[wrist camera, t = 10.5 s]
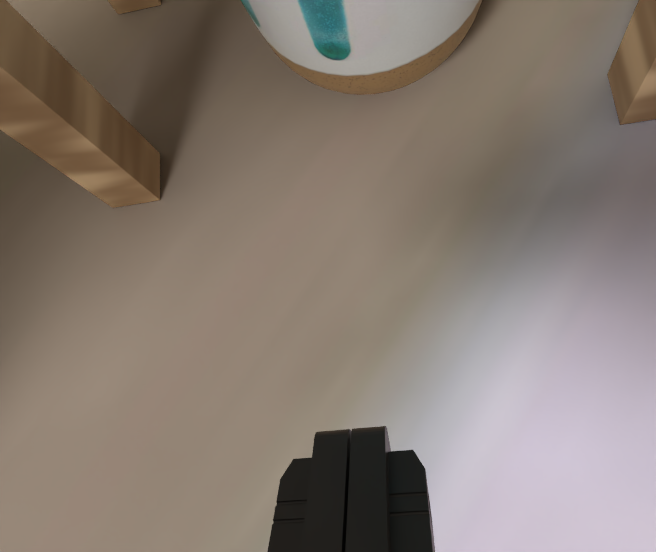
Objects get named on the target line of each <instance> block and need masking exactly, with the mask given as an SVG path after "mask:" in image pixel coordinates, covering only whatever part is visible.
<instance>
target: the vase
mask: <svg viewBox="0 0 656 552" xmlns="http://www.w3.org/2000/svg"><path fill="white" fill-rule="evenodd" d="M241 1H242V3H243V5H244V7H245V8H246V10H247V12H248V13H249V15H250V17H251V18H252V20H253V22H254V23H255V25H256V26H257V28H258V30H259V31H260V33H261V34H262V35H263V37H264V38H265V40H266V41H267V42H268V44H269V45H270V46H271V48H272V49H273V51H274V52H275V53H276V54H277V56H278V57H279V58H280V59H281V60H282V61H283V62H284V63H286V64H287V65H288V66H289V67H290V68H291V69H292V70H293V71H294V72H296V73H297V74H299V75H301V76H302V77H304V78H305V79H307V80H308V81H310V82H312V83H314V84H316V85H319V86H321V87H323V88H326V89H329V90H333V91H337V92H342V93H347V94H357V95H364V94H377V93H383V92H388V91H392V90H395V89H398V88H401V87H404V86H407V85H409V84H411V83H413V82H415V81H417V80H419V79H421V78H422V77H424V76H425V75H427V74H428V73H430V72H431V71H433V70H434V69H435V68H437V67H438V66H439V65H440V64H441V63H442V62H443V61H445V60H446V59H447V58H448V57H449V56H450V55H451V54H452V52H453V51H454V50H455V49H456V48H457V46H458V45H459V44H460V43H461V41H462V40H463V39H464V37H465V35H466V34H467V32H468V30H469V29H470V27H471V25H472V24H473V22H474V19H475V17H476V15H477V12H478V10H479V7H480V5H481V2H482V0H241Z"/></svg>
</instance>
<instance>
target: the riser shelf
mask: <svg viewBox="0 0 656 552" xmlns="http://www.w3.org/2000/svg"><path fill="white" fill-rule="evenodd" d="M108 2H109V3H110V4H111V5H112V7H113V8H114V9H115V11H116V12H117V13H118V14H122V13H127V12H131V11H136V10H140V9H145V8H149V7H154V6H158V5H161V0H108ZM607 75H608V79H609V83H610V87H611V91H612V95H613V99H614V103H615V106H616V110H617V114H618V118H619V122H620V125H623V124H629V123H635V122H641V121H647V120H653V119H656V0H639V1H638V4H637V6H636V9H635V11H634V13H633V16H632V18H631V20H630V23H629V25H628V27H627V30H626V32H625V34H624V37H623V39H622V41H621V44H620V46H619V49H618V51H617V53H616V56H615V58H614V60H613V63H612V65H611V67H610V70H609V72H608V74H607ZM0 130H2V131H3V132H5V133H6V134H7V135H9V136H10V137H12V138H13V139H15V140H16V141H17V142H19V143H20V144H22V145H23V146H25V147H26V148H27V149H29V150H30V151H32V152H33V153H35V154H36V155H38V156H39V157H40V158H42V159H43V160H45V161H46V162H48V163H49V164H50V165H52V166H53V167H55V168H56V169H58V170H59V171H61V172H62V173H63V174H65V175H66V176H68V177H69V178H71V179H72V180H73V181H75V182H76V183H78V184H79V185H81V186H82V187H83V188H85V189H86V190H88V191H89V192H91V193H92V194H94V195H95V196H96V197H98V198H99V199H101V200H102V201H104V202H105V203H106V204H108V205H109V206H111V207H112V208H115V207H121V206H127V205H133V204H139V203H145V202H152V201H158V200H160V153H159V152H158V151H157V150H156V149H155V148H154V147H153V146H152V145H151V144H150V143H149V142H148V141H147V140H146V139H145V138H144V137H143V136H142V135H141V134H140V133H139V132H138V131H137V130H136V129H135V128H134V127H133V126H132V125H131V124H130V123H129V122H128V121H127V120H126V119H125V118H124V117H123V116H122V115H121V114H120V113H119V112H118V111H117V110H116V109H115V108H114V107H113V106H112V105H111V104H110V103H109V102H108V101H107V100H106V99H105V98H104V97H103V96H102V95H101V94H100V93H99V92H98V91H97V90H96V89H95V88H94V87H93V86H92V85H91V84H90V83H89V82H88V81H87V80H86V79H85V78H84V77H83V76H82V75H81V74H80V73H79V72H78V71H77V70H76V69H75V68H74V67H72V66H71V65H70V64H69V63H68V62H67V61H66V60H65V59H64V58H63V57H62V56H61V55H60V54H59V53H58V52H57V51H56V50H55V49H54V48H53V47H52V46H51V45H50V44H49V43H48V42H47V41H46V40H45V39H44V38H43V37H42V36H41V35H40V34H39V33H38V32H37V31H36V30H35V29H34V28H33V27H32V26H31V25H30V24H29V23H28V22H27V21H26V20H25V19H24V18H23V17H22V16H21V15H20V14H19V13H18V12H17V11H16V10H15V9H14V8H13V7H12V6H11V5H10V4H9V3H8V2H7V1H6V0H0Z"/></svg>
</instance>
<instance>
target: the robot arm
mask: <svg viewBox="0 0 656 552" xmlns="http://www.w3.org/2000/svg"><path fill="white" fill-rule="evenodd" d="M273 521H274V524H272V530H271V536H270V541H269V547H268V552H435V546H434V536H433V526H432V517H431V509H430V502H429V494H428V487H427V479H426V472H425V468H424V466H423V465H422V463H421V462H420V460H419V459H418V457H417V455H416V454H415V452H414V451H413V450H406V451H392V452H391V450H390V444H389V438H388V432H387V428H386V426H382V427H370V428H357V429H352V431H351V430H350V429H347V430H335V431H323V432H316V434H315V438H314V446H313V454H312V458H302V459H293V461H292V462H291V464H290V465H289V467H288V468H287V470H286V471H285V473H284V475H283V476H282V478H281V479H280V485H279V490H278V496H277V506H276V507H275V513H274V519H273Z"/></svg>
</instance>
